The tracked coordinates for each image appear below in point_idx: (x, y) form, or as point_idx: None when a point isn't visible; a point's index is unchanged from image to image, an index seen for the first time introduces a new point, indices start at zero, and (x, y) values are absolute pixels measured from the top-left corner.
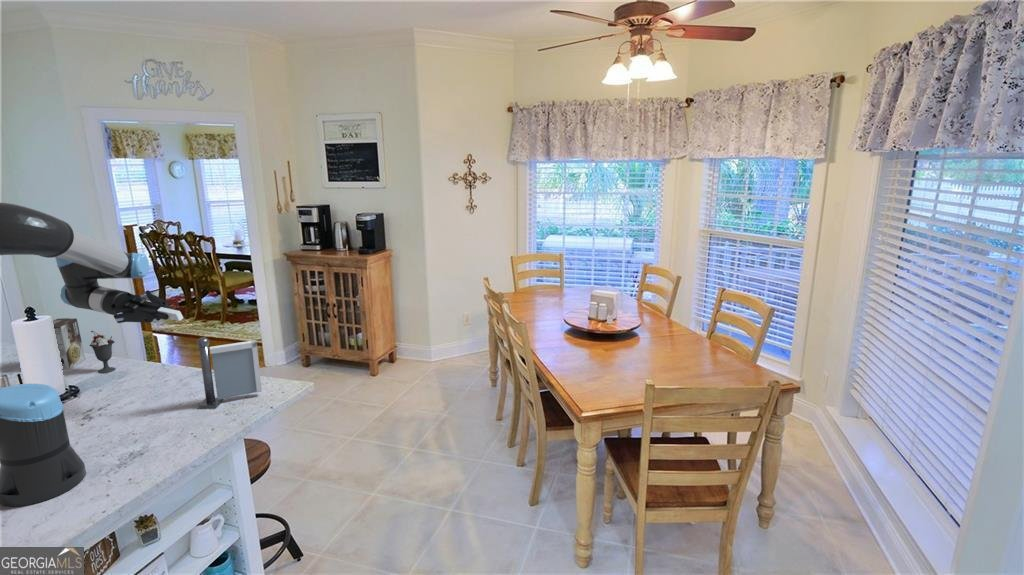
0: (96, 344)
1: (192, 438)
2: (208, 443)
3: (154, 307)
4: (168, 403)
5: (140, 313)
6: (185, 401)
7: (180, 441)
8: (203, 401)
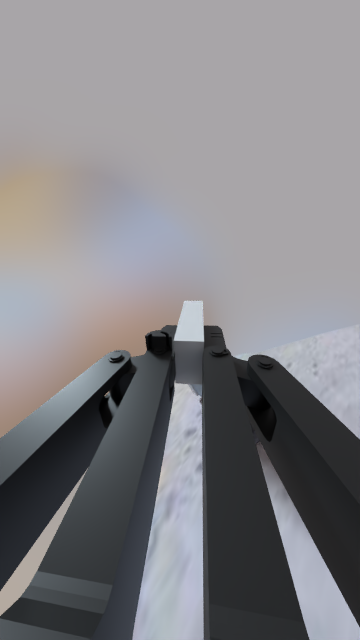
0: None
1: (320, 363)
2: (309, 344)
3: (165, 394)
4: (305, 540)
5: (292, 414)
6: (270, 496)
7: (338, 366)
8: (254, 437)
